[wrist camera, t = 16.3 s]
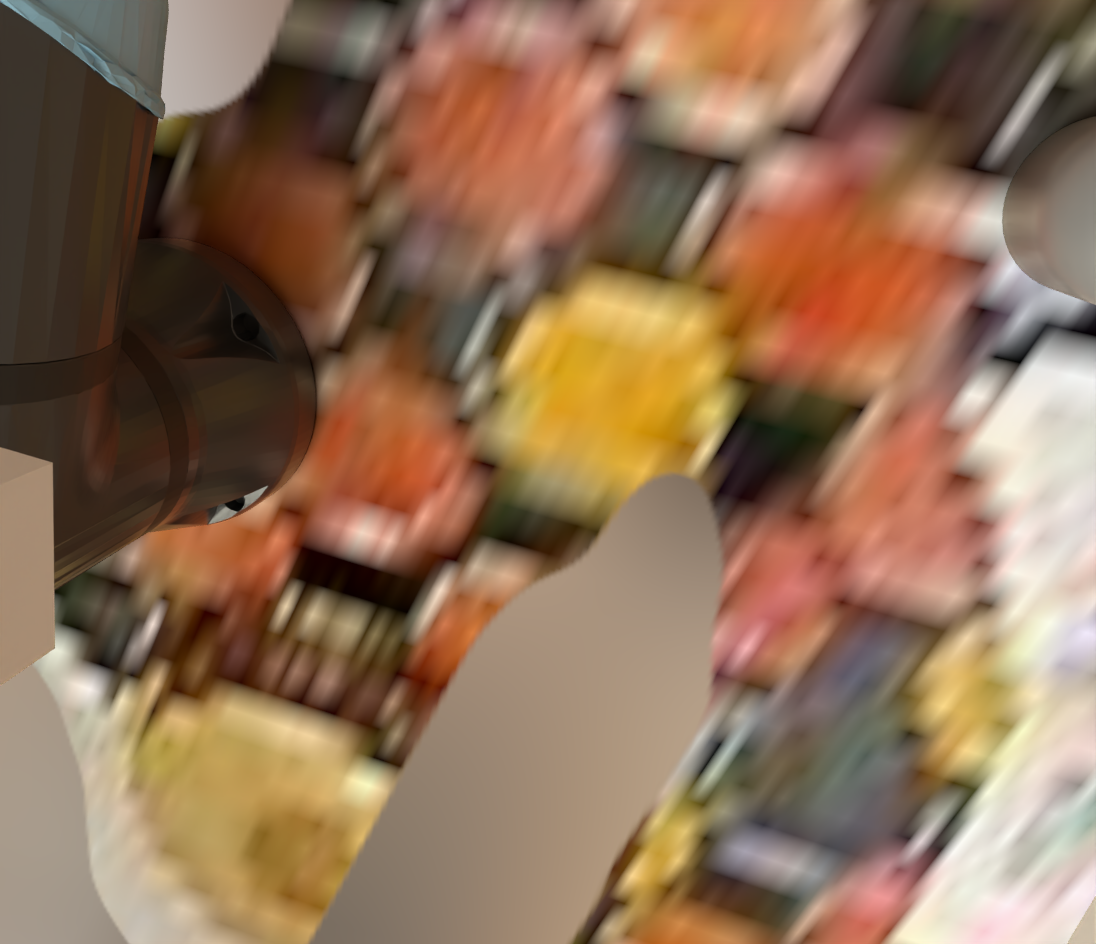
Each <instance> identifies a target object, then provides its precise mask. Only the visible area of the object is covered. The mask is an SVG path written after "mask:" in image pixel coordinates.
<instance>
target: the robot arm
mask: <svg viewBox="0 0 1096 944" xmlns="http://www.w3.org/2000/svg"><path fill="white" fill-rule="evenodd" d="M168 11H169V10H168V0H0V686H1V685H2V684H4V683H5V682H7V681H8V680H10V679H11V678H12V677H14V676H15V675H17V674H18V673H20V672H21V671H22V670H24V669H25V668H27V667H28V666H30V665H31V664H33V663H34V662H36V661H37V660H38V659H40V658H41V657H43V656H44V655H46V654H47V653H49V652H50V651H51V650H53V649H54V648H55V620H54V591H55V590H57V589H58V588H60V587H61V586H63V585H65V584H66V583H68V582H69V581H71V580H73V579H74V578H76V577H77V576H79V575H80V574H82V573H84V572H85V571H87V570H88V569H90V568H92V567H93V566H95V565H96V564H98V563H99V562H101V561H103V560H104V559H106V558H107V557H109V556H111V555H112V554H114V553H115V552H117V551H119V550H120V549H122V548H123V547H125V546H126V545H128V544H130V543H131V542H133V541H134V540H136V539H138V538H139V537H141V536H143V535H144V534H146V533H148V532H155V531H163V530H170V529H178V528H186V527H193V526H201V525H208V524H213V523H218V522H222V521H225V520H228V519H231V518H233V517H236V516H238V515H240V514H242V513H244V512H246V511H248V510H250V509H251V508H253V507H254V506H256V505H257V504H259V503H260V502H262V501H263V500H265V499H266V498H268V497H269V496H271V495H272V494H273V493H275V492H276V491H277V490H279V489H280V488H281V487H282V486H283V485H284V484H285V483H286V482H287V481H288V480H289V479H290V477H291V476H292V475H293V474H294V472H295V471H296V469H297V468H298V466H299V465H300V463H301V461H302V459H303V457H304V455H305V453H306V451H307V448H308V446H309V443H310V439H311V436H312V432H313V427H314V420H315V410H316V395H315V384H314V377H313V372H312V367H311V363H310V360H309V356H308V353H307V350H306V348H305V345H304V342H303V340H302V338H301V335H300V333H299V331H298V329H297V327H296V325H295V323H294V322H293V320H292V318H291V317H290V315H289V313H288V312H287V310H286V309H285V308H284V306H283V305H282V303H281V302H280V301H279V299H278V298H277V297H276V296H275V294H274V293H273V292H272V291H271V290H270V289H269V288H268V287H267V286H266V285H265V284H264V283H263V282H262V281H261V280H260V279H259V278H258V277H257V276H256V275H255V274H254V273H253V272H251V271H250V270H249V269H247V268H246V267H245V266H244V265H242V264H241V263H239V262H238V261H236V260H235V259H233V258H231V257H230V256H228V255H226V254H224V253H222V252H220V251H218V250H216V249H214V248H211V247H209V246H206V245H204V244H200V243H197V242H193V241H189V240H184V239H177V238H149V239H140V240H138V236H139V229H140V223H141V217H142V211H143V205H144V200H145V194H146V188H147V182H148V176H149V170H150V165H151V159H152V153H153V147H154V141H155V135H156V130H157V124H158V118H160V119H163V117H164V114H165V104H164V102H163V100H162V99H161V86H162V73H163V60H164V49H165V41H166V32H167V23H168ZM1067 944H1096V896H1095V898H1094V900H1093V901H1092V903H1091V905H1090V906H1089V908H1088V910H1087V911H1086V913H1085V915H1084V916H1083V918H1082V920H1081V921H1080V923H1079V925H1078V926H1077V928H1076V930H1075V931H1074V933H1073V935H1072V936H1071V938H1070V940H1069V941H1068V943H1067Z"/></svg>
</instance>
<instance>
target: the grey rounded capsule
mask: <svg viewBox="0 0 1096 944" xmlns="http://www.w3.org/2000/svg"><path fill="white" fill-rule="evenodd" d="M1002 224H1003V234H1004V238H1005V242H1006V245H1007V248H1008V250H1009V252H1010V254H1011V256H1012V258H1013V259H1014V261H1015V263H1016V264H1017V265H1018V266H1019V267H1020V269H1021V270H1022V271H1023V272H1024V273H1025V274H1027V275H1028V276H1029V277H1030V278H1032V279H1033V280H1035V281H1036V282H1038V283H1039V284H1042V285H1044V286H1046V287H1048V288H1051V289H1053V290H1056V291H1059V292H1062V293H1064V294H1067V295H1070V296H1073V297H1075V298H1078V299H1081V300H1084V301H1086V302H1089V303H1092V304H1095V305H1096V116H1094V117H1090V118H1086V119H1083V120H1080V121H1078V122H1075V123H1072V124H1070V125H1068V126H1066V127H1064V128H1062V129H1060V130H1059V131H1057V132H1055V133H1054V134H1052V135H1051V136H1049V137H1048V138H1047V139H1045V140H1044V141H1043V142H1042V143H1041V144H1039V145H1038V146H1037V147H1036V148H1035V149H1034V150H1033V151H1032V152H1031V153H1030V154H1029V155H1028V157H1027V158H1026V159H1025V160H1024V162H1023V163H1022V164H1021V166H1020V167H1019V169H1018V170H1017V172H1016V174H1015V175H1014V177H1013V179H1012V182H1011V184H1010V186H1009V188H1008V191H1007V194H1006V198H1005V202H1004V207H1003V218H1002Z"/></svg>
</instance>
